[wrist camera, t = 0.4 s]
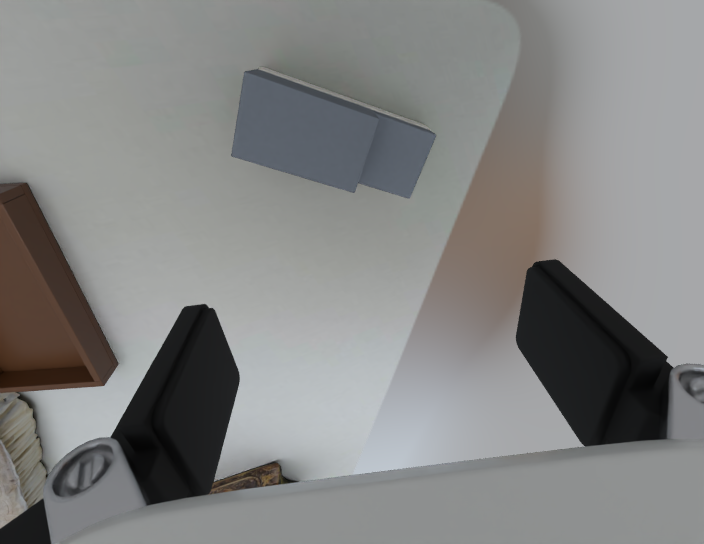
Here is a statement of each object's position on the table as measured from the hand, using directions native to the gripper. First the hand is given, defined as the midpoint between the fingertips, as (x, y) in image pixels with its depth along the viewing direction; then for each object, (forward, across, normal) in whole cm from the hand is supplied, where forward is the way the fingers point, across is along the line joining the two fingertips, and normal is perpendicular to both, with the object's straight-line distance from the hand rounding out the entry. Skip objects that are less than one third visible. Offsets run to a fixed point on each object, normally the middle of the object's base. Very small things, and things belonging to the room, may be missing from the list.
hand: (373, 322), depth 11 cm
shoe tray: (+17, +28, +6) cm, 33 cm away
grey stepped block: (+17, 0, -3) cm, 17 cm away
